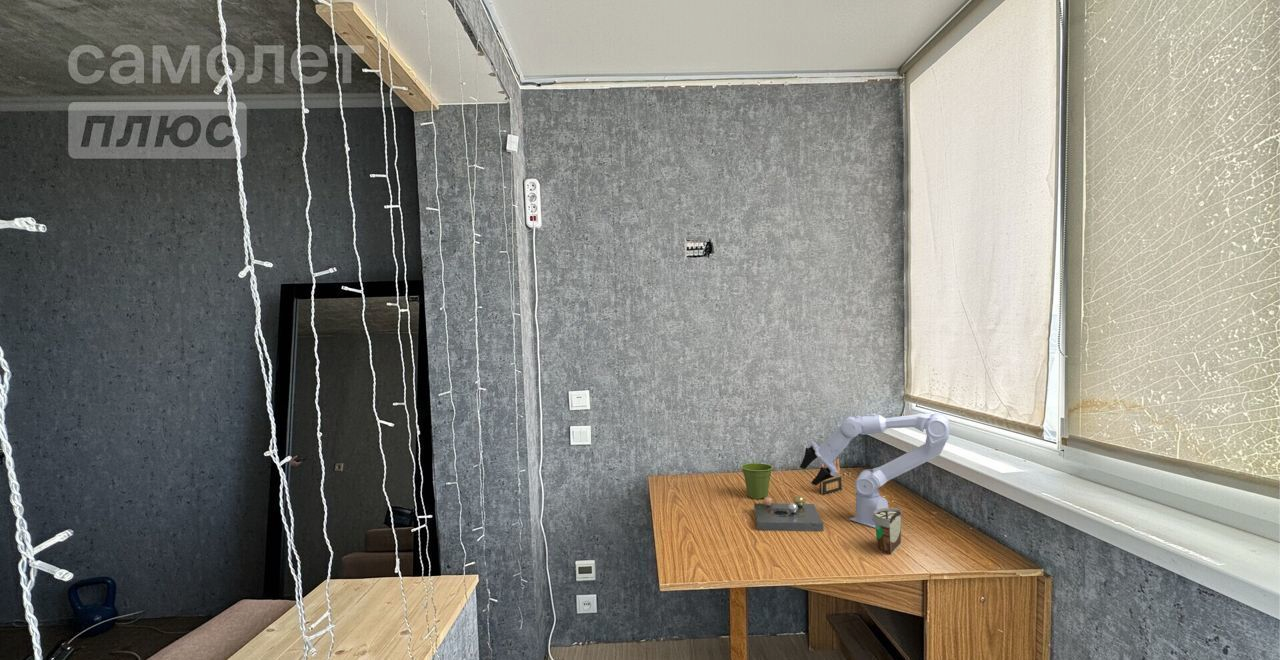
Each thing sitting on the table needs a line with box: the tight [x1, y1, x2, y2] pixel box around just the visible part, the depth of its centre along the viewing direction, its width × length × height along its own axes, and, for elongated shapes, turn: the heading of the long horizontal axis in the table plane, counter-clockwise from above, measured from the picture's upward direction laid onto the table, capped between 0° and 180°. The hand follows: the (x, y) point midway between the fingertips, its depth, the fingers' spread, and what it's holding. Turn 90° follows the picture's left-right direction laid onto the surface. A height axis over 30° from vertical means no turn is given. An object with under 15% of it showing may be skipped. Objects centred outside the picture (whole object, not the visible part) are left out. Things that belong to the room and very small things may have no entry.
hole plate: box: [753, 502, 825, 532], centre depth 194 cm, size 20×19×2 cm
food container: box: [872, 507, 903, 556], centre depth 170 cm, size 12×6×10 cm, turn 141°
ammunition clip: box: [819, 458, 843, 496], centre depth 223 cm, size 11×2×12 cm, turn 124°
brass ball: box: [793, 494, 806, 506], centre depth 200 cm, size 4×4×4 cm
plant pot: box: [740, 462, 774, 500], centre depth 220 cm, size 12×12×11 cm
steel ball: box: [788, 502, 798, 513], centre depth 194 cm, size 3×3×3 cm
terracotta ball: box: [762, 496, 773, 506], centre depth 202 cm, size 3×3×3 cm
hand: (807, 475), depth 199 cm, fingers open, 7 cm apart
